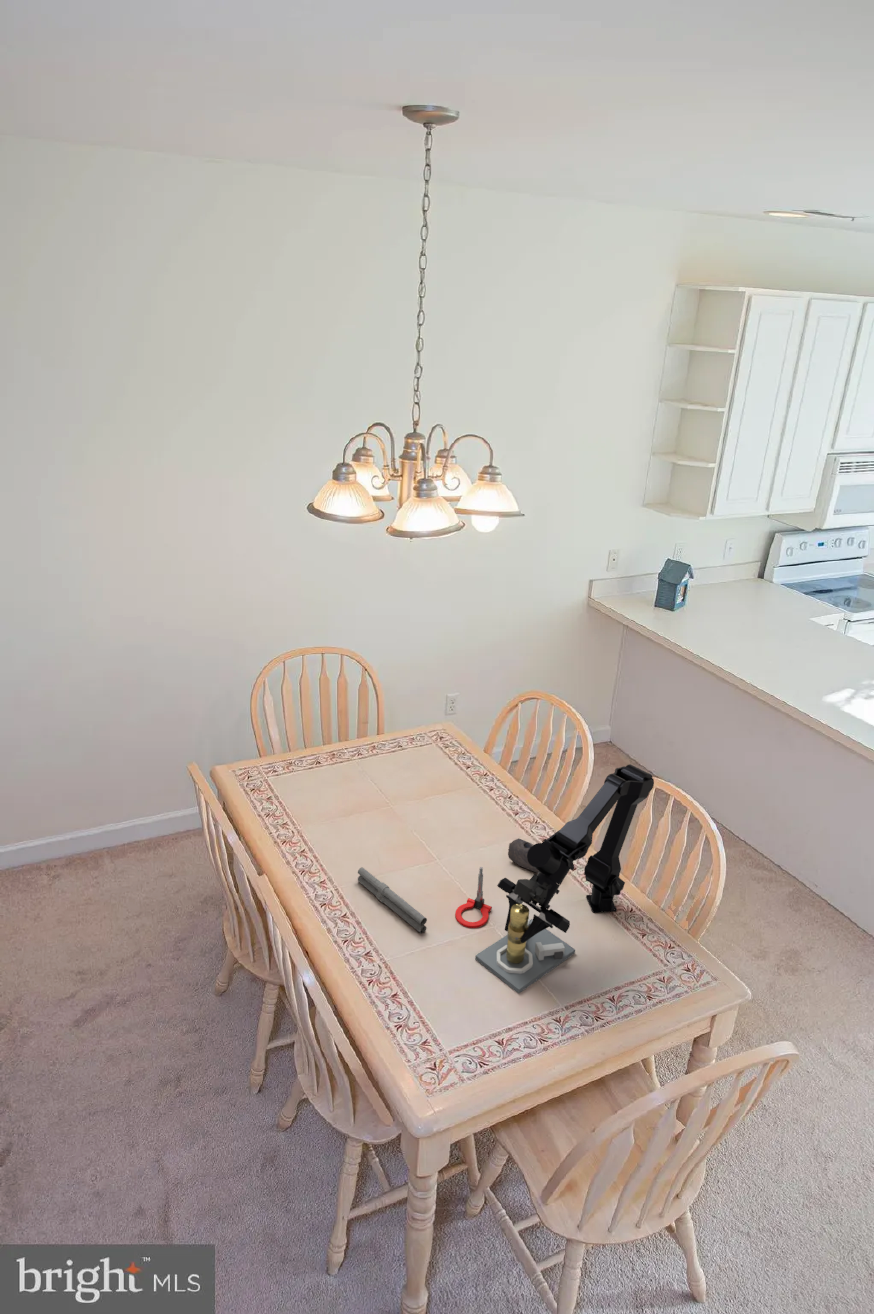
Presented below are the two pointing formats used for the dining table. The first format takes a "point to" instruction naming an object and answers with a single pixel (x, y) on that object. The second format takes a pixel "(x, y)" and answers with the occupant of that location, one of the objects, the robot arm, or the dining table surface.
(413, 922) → the metal rod assembly
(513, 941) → the coupler
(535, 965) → the base
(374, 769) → the dining table surface
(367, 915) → the dining table surface
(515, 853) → the perforated stone tool
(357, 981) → the dining table surface
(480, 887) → the tow hook
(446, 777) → the dining table surface
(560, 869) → the robot arm
